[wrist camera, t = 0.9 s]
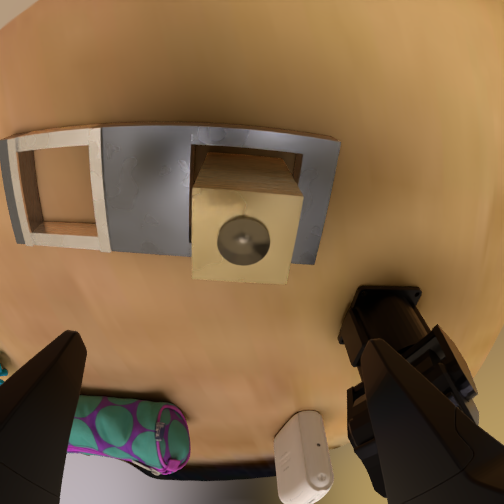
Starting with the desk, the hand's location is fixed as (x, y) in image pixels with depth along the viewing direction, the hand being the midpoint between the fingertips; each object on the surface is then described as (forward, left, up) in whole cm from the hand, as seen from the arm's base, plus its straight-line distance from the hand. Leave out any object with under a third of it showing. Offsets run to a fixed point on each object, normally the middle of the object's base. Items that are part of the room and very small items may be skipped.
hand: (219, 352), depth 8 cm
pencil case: (+14, +28, -12) cm, 34 cm away
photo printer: (-11, +31, -12) cm, 35 cm away
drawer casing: (+5, -1, -12) cm, 13 cm away
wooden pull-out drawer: (-1, -1, -12) cm, 12 cm away
